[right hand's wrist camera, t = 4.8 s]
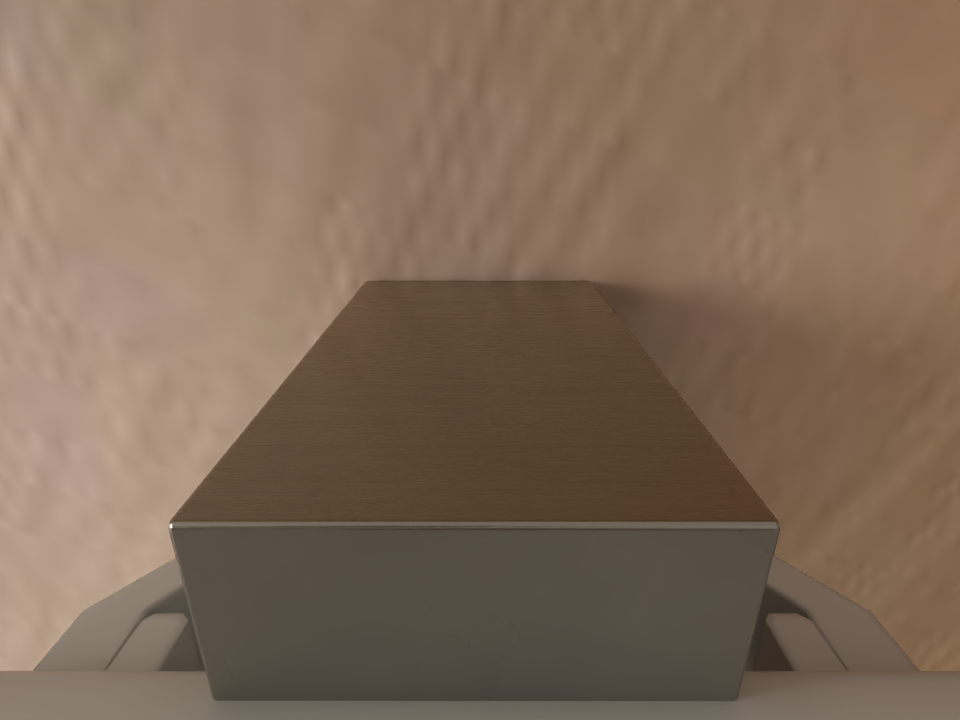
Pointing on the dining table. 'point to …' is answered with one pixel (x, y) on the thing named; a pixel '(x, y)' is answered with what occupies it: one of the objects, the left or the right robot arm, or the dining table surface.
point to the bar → (475, 515)
